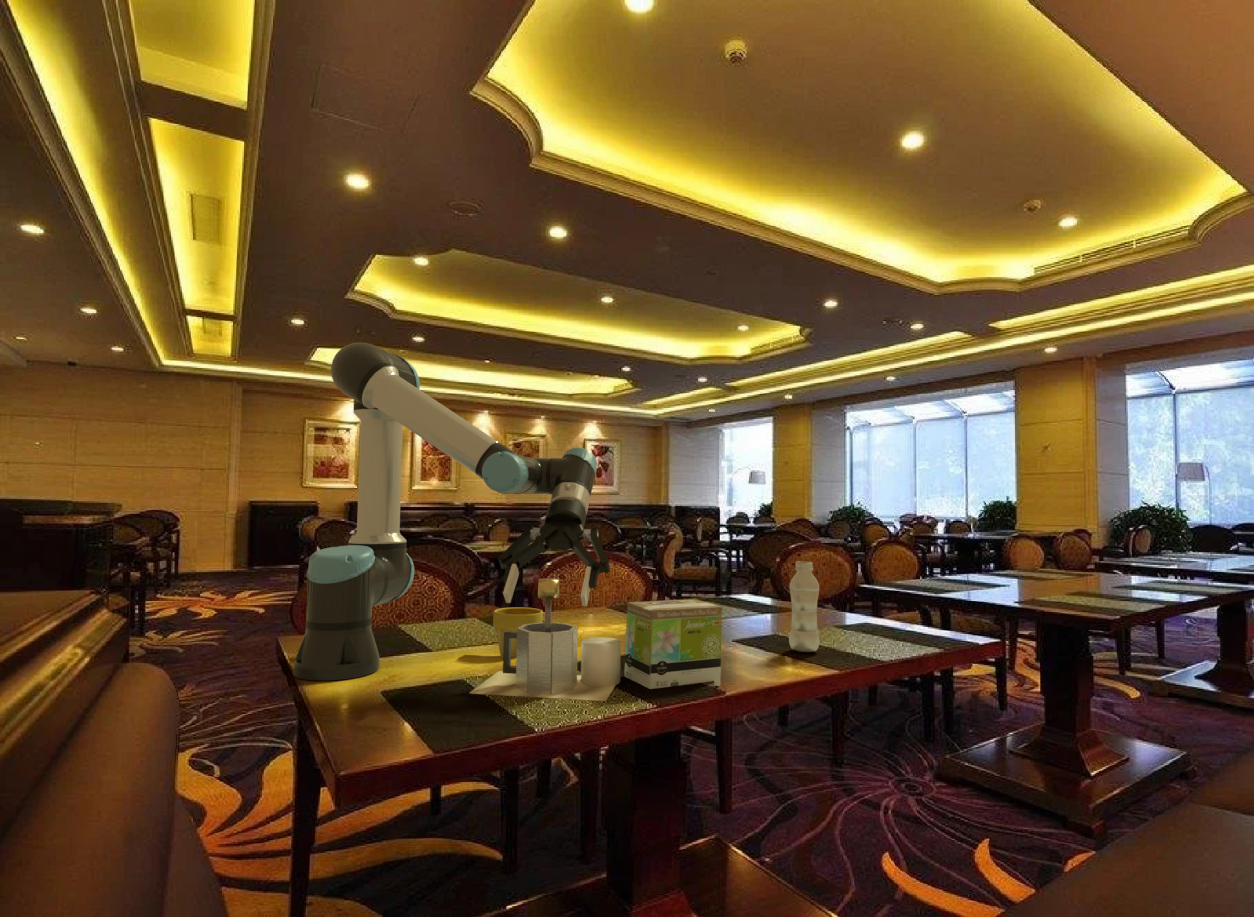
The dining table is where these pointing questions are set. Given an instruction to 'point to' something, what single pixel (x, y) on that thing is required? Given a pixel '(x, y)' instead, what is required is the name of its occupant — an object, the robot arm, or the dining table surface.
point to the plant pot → (514, 623)
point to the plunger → (548, 597)
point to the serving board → (507, 687)
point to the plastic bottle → (804, 609)
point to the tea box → (673, 643)
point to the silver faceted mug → (543, 658)
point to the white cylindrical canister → (600, 661)
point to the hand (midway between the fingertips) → (544, 600)
